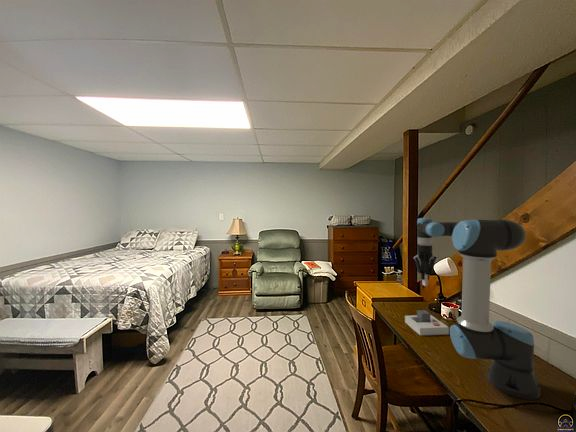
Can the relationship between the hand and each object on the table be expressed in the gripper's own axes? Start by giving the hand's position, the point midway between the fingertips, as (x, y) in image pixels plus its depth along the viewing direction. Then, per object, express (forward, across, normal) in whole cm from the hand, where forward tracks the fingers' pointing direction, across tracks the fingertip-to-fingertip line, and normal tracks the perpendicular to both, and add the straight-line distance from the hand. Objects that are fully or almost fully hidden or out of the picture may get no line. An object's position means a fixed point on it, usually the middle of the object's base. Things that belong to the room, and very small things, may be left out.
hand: (425, 285), depth 144 cm
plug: (+24, 0, -1) cm, 24 cm away
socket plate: (+25, 0, +1) cm, 25 cm away
